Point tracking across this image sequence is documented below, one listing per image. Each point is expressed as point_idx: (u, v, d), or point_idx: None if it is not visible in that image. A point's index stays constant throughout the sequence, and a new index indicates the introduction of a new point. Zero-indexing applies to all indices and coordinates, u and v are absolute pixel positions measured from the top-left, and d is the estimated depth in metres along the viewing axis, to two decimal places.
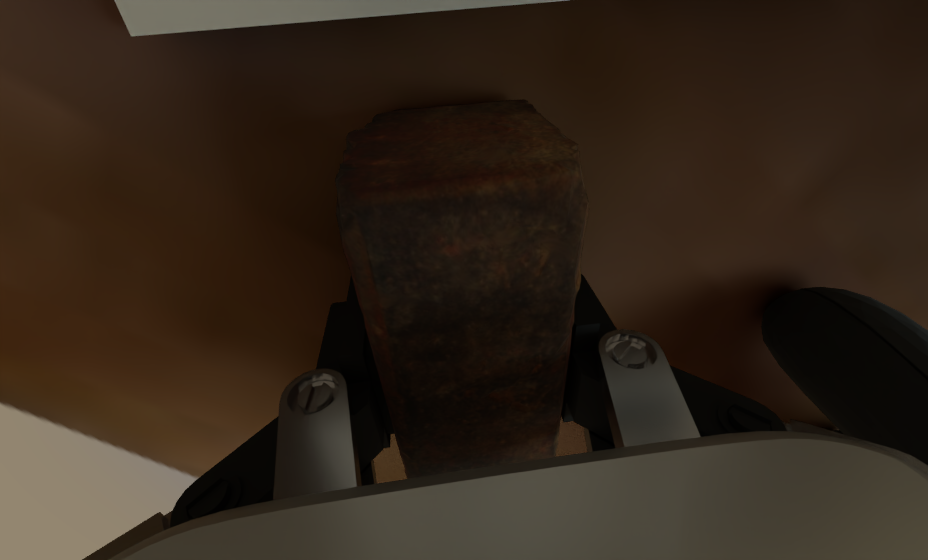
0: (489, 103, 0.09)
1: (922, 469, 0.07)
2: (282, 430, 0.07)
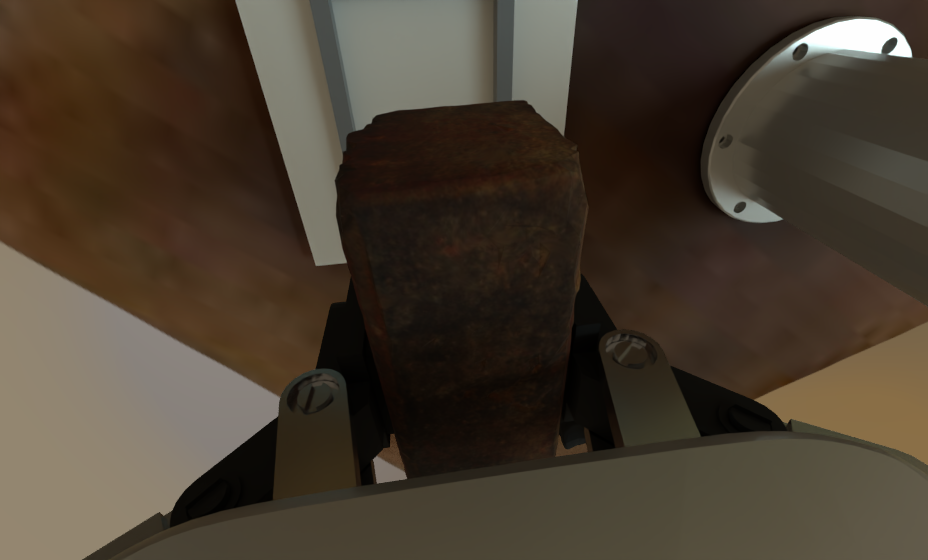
0: (489, 103, 0.09)
1: (922, 469, 0.07)
2: (282, 430, 0.07)
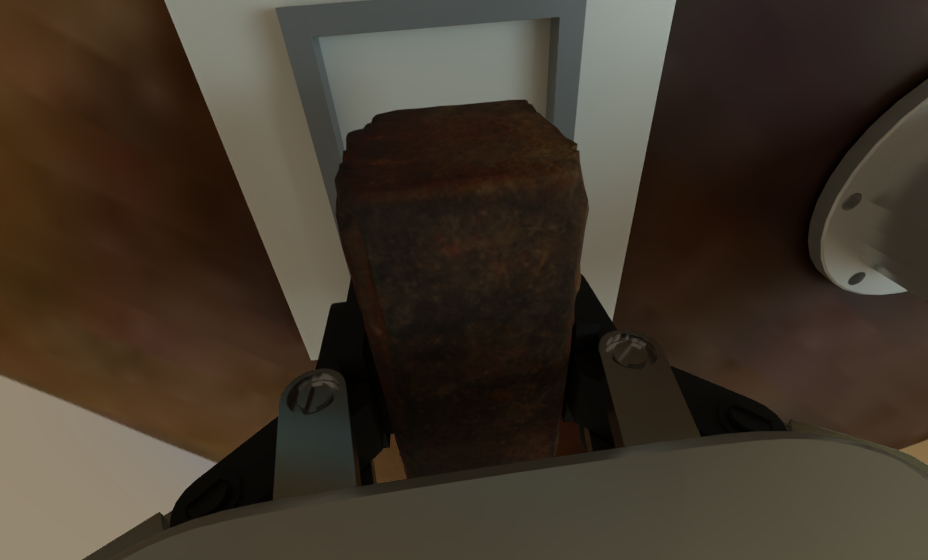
0: (489, 103, 0.09)
1: (922, 469, 0.07)
2: (282, 430, 0.07)
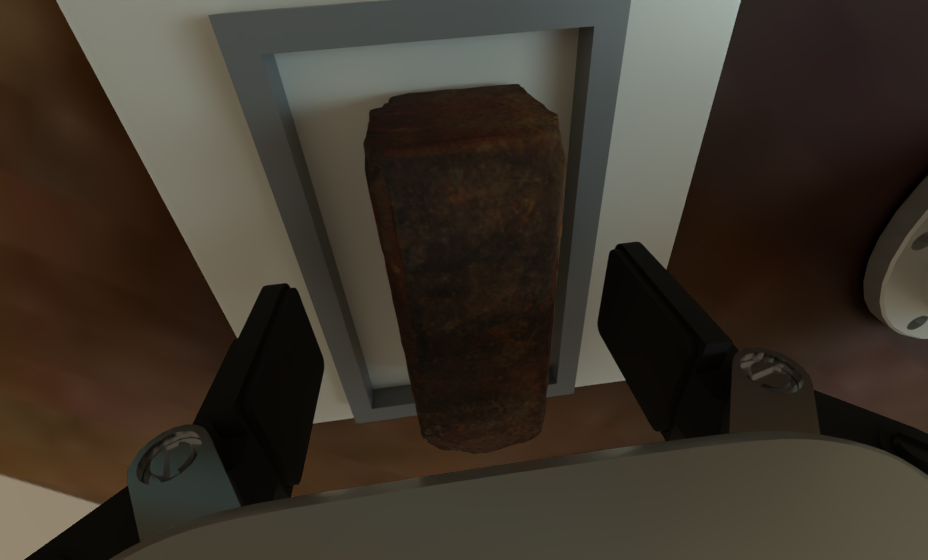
0: (487, 87, 0.10)
1: None
2: (140, 508, 0.06)
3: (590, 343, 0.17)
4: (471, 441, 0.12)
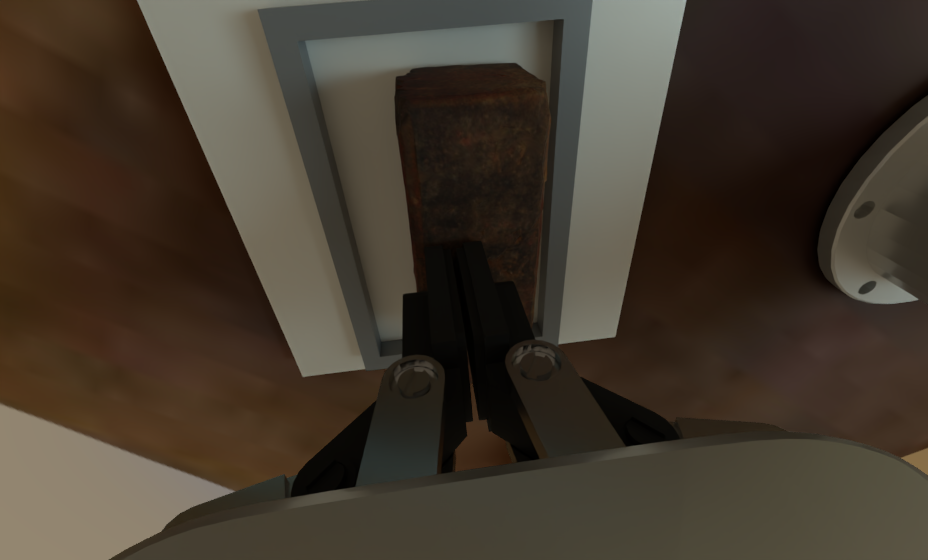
0: (490, 64, 0.13)
1: None
2: (379, 407, 0.07)
3: (572, 301, 0.19)
4: (468, 367, 0.15)
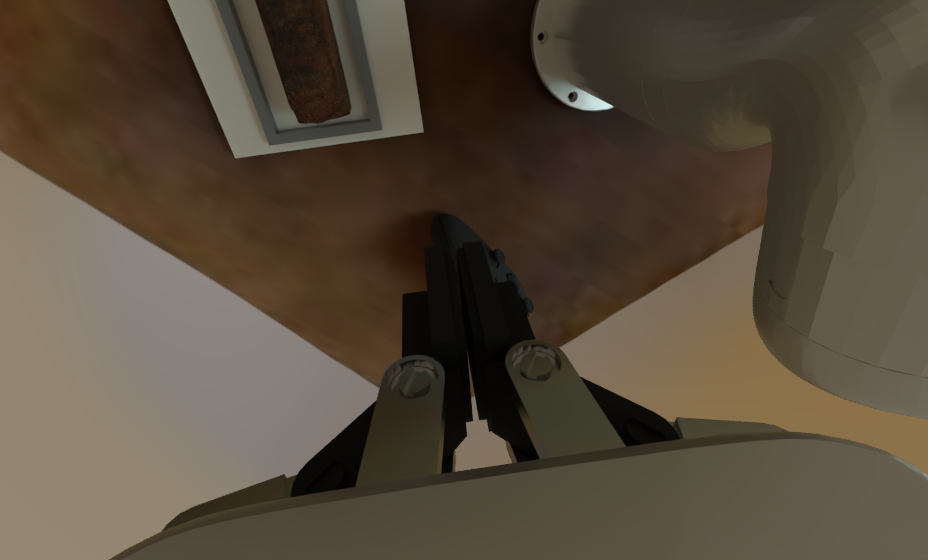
0: None
1: None
2: (379, 407, 0.07)
3: (388, 102, 0.34)
4: (310, 104, 0.29)
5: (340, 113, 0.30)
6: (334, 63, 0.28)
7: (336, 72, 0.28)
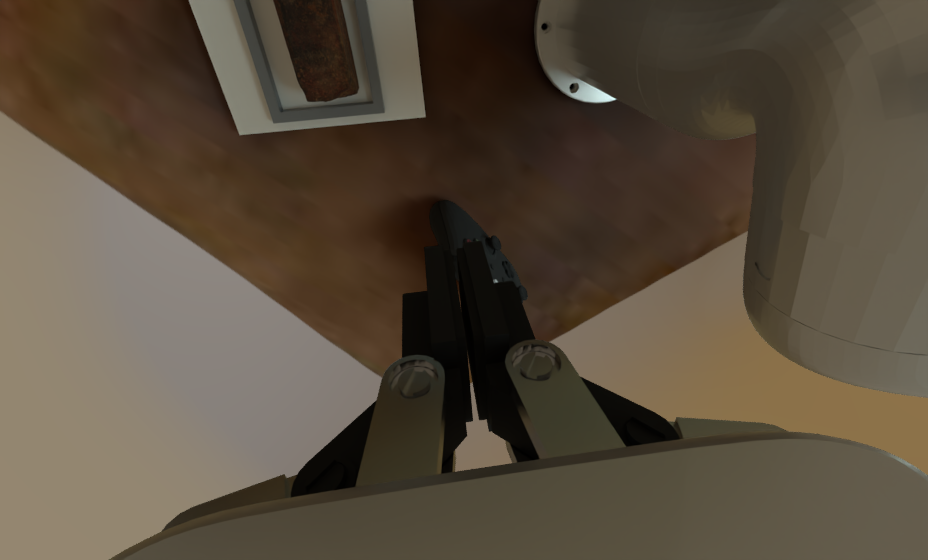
0: None
1: None
2: (379, 407, 0.07)
3: (391, 85, 0.34)
4: (318, 82, 0.29)
5: (348, 92, 0.31)
6: (342, 41, 0.28)
7: (344, 50, 0.29)
